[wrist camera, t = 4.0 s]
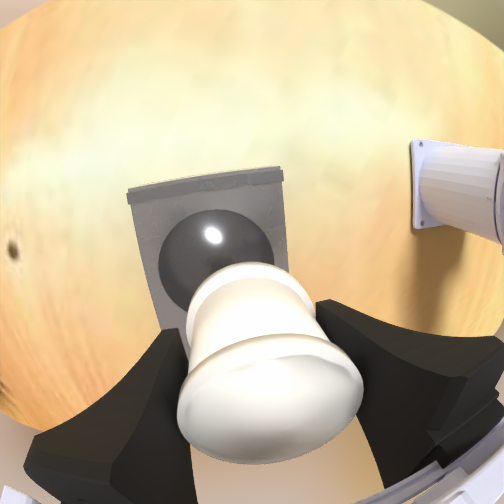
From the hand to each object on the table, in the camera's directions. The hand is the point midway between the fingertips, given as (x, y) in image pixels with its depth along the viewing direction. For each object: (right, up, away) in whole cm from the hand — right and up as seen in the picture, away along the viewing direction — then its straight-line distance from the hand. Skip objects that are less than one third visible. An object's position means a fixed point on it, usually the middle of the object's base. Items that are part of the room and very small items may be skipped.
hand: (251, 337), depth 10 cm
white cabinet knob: (0, 0, +2) cm, 2 cm away
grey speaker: (-2, +1, +10) cm, 10 cm away
